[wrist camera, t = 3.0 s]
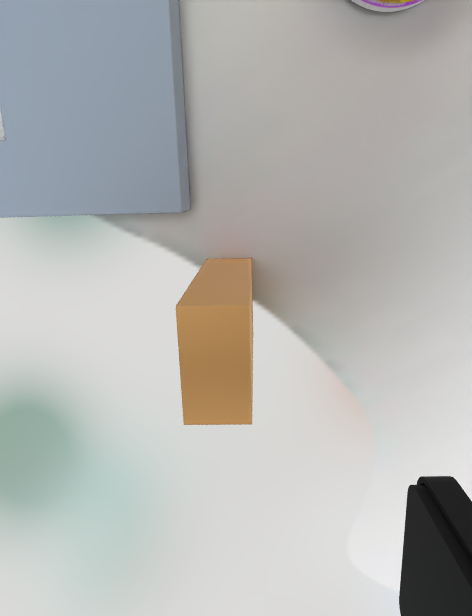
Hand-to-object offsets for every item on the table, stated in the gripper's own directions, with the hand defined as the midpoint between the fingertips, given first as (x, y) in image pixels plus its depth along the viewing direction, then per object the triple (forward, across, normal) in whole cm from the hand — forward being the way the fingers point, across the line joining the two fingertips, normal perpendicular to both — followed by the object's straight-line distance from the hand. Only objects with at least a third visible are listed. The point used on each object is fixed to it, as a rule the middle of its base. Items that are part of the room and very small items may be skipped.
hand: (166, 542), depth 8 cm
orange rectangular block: (+17, 0, -1) cm, 17 cm away
